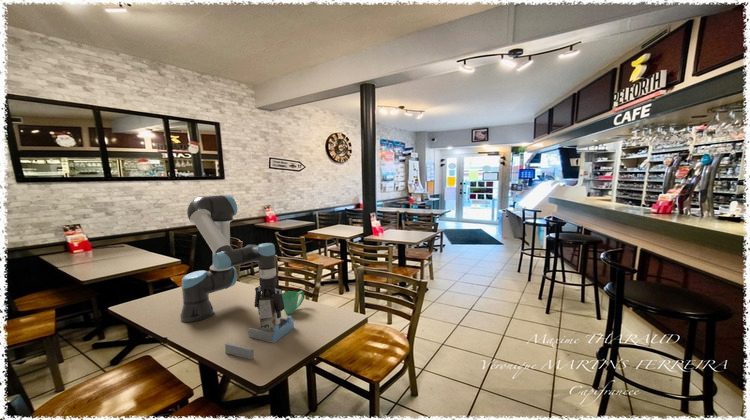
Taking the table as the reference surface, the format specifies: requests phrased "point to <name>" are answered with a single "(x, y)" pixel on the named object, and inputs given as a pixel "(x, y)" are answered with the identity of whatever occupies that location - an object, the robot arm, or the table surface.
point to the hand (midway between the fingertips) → (270, 322)
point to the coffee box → (267, 313)
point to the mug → (292, 301)
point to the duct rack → (261, 338)
